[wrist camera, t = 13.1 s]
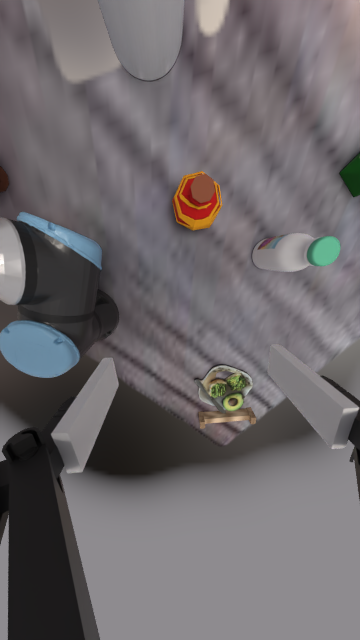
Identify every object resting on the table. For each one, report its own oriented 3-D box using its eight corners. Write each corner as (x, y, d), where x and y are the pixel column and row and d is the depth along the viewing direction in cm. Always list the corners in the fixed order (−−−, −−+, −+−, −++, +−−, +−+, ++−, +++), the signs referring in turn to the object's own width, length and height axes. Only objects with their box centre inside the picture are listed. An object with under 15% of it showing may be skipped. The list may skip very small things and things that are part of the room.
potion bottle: (169, 231, 44) (168, 218, 30) (174, 182, 41) (176, 143, 27) (209, 238, 45) (227, 228, 31) (218, 191, 42) (242, 156, 28)
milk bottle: (277, 268, 49) (344, 275, 30) (249, 270, 48) (299, 277, 30) (281, 238, 46) (357, 223, 27) (252, 239, 46) (308, 225, 27)
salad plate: (183, 394, 62) (184, 404, 58) (208, 354, 57) (211, 362, 53) (229, 412, 66) (233, 423, 61) (257, 375, 61) (263, 384, 56)
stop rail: (198, 417, 65) (200, 428, 61) (198, 411, 64) (200, 422, 60) (250, 413, 66) (255, 423, 61) (250, 407, 65) (255, 417, 60)
